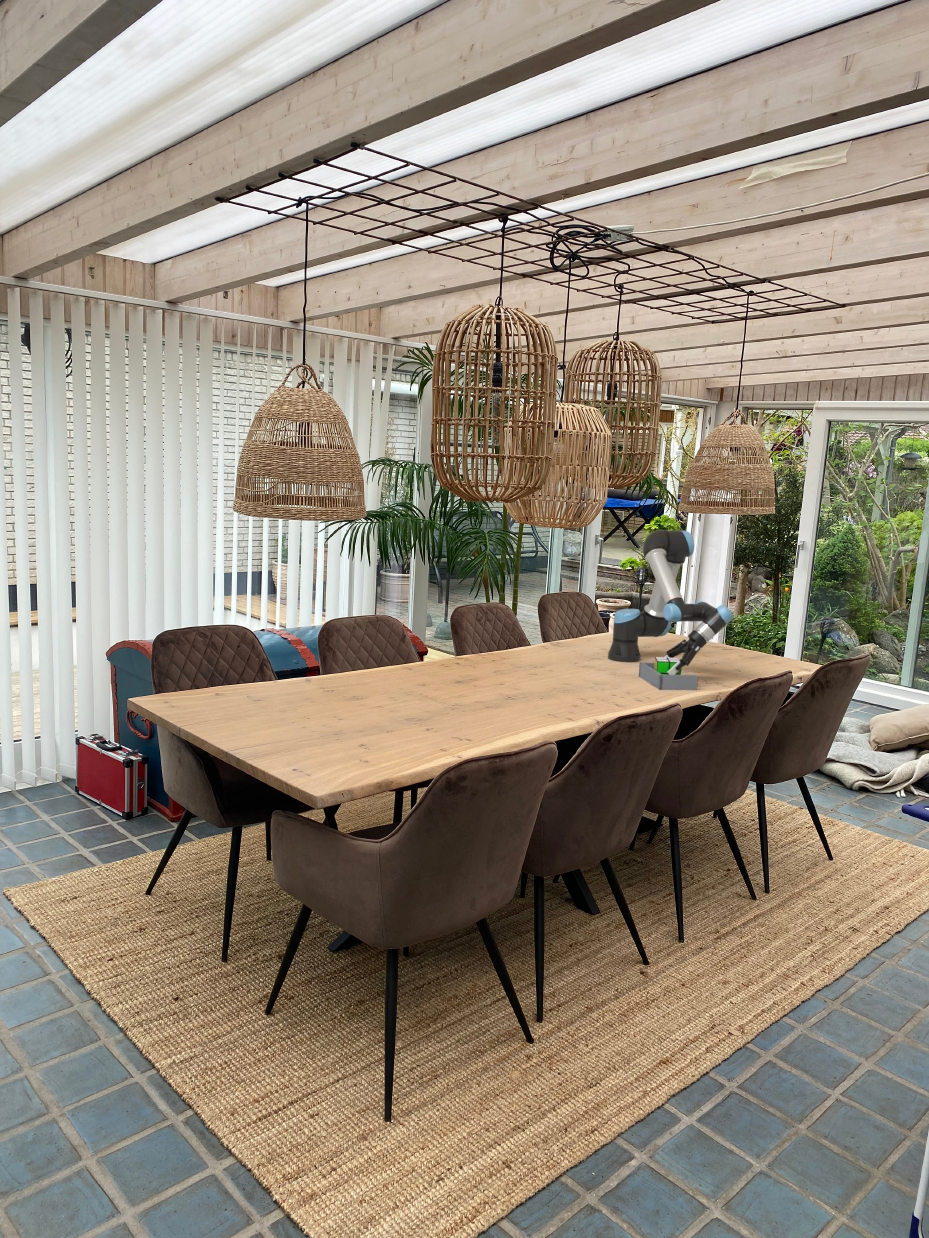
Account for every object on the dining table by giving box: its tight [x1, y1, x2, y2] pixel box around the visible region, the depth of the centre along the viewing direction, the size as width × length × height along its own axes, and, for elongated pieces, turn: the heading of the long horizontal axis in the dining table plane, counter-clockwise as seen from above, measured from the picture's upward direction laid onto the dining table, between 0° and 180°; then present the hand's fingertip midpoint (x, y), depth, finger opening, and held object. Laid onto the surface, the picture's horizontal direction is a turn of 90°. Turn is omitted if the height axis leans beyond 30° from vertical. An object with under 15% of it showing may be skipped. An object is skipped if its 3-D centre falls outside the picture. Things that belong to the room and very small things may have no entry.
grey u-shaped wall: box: [638, 662, 699, 691], centre depth 369 cm, size 25×16×6 cm, turn 7°
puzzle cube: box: [653, 656, 683, 675], centre depth 369 cm, size 10×10×10 cm
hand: (663, 671), depth 369 cm, fingers open, 13 cm apart
